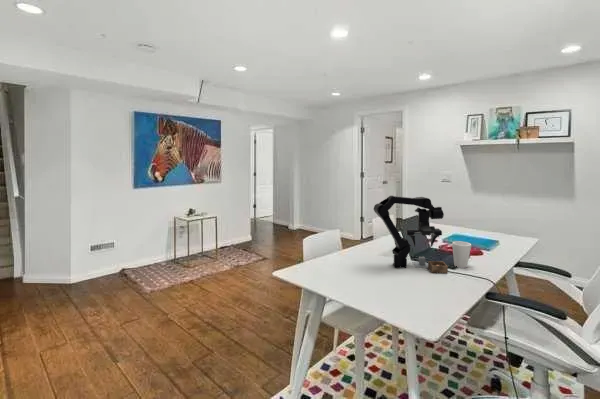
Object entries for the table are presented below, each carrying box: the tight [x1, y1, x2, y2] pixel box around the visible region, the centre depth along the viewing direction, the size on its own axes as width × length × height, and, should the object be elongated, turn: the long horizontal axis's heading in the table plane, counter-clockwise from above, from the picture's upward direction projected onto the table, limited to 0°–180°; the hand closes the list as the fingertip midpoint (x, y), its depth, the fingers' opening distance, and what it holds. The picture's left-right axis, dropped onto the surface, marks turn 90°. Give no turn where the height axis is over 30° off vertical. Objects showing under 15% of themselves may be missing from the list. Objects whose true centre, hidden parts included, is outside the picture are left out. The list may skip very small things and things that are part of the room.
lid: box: [412, 256, 428, 269], centre depth 191 cm, size 9×9×5 cm
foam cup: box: [451, 240, 472, 269], centre depth 188 cm, size 10×9×13 cm
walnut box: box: [427, 260, 449, 275], centre depth 181 cm, size 8×8×4 cm
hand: (422, 246), depth 190 cm, fingers open, 9 cm apart
